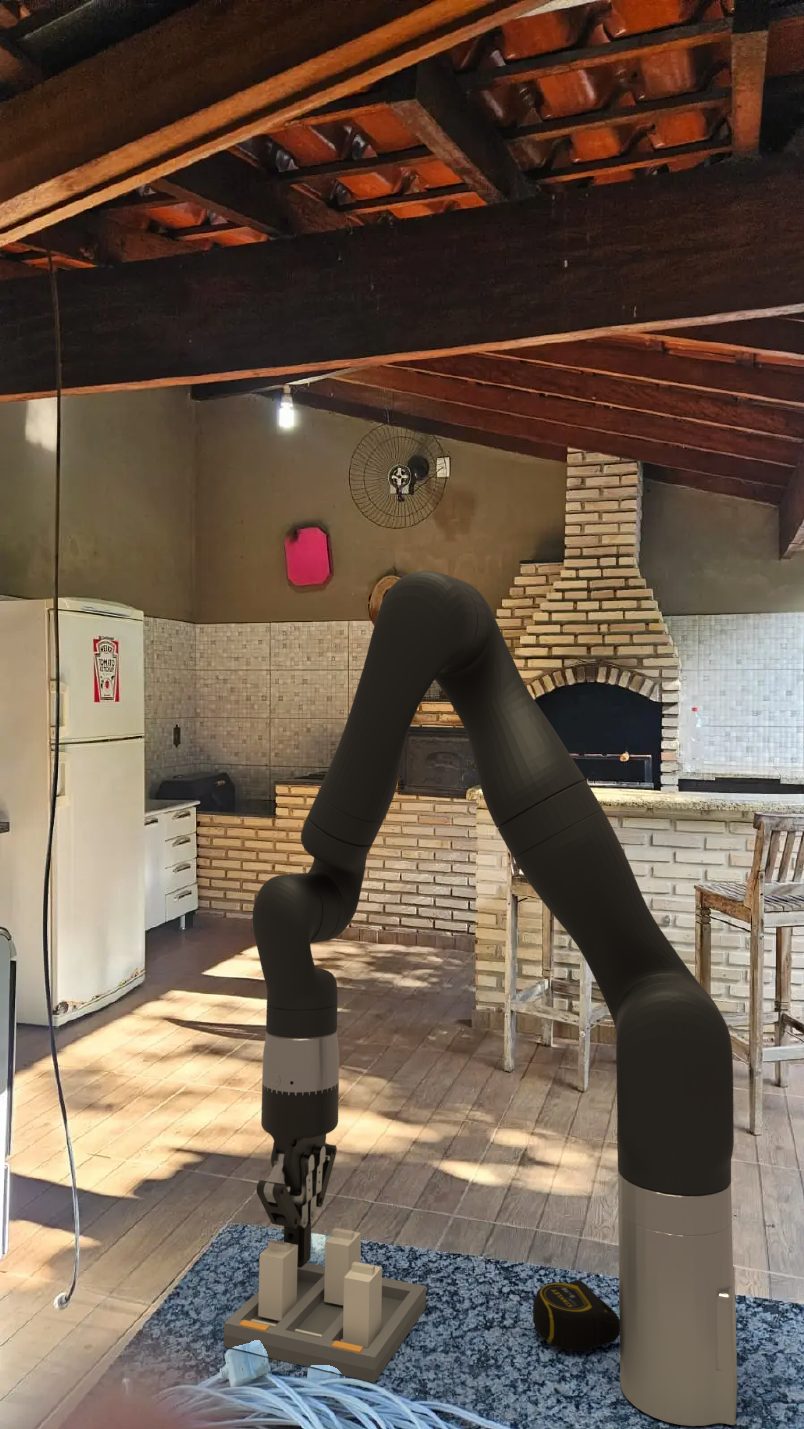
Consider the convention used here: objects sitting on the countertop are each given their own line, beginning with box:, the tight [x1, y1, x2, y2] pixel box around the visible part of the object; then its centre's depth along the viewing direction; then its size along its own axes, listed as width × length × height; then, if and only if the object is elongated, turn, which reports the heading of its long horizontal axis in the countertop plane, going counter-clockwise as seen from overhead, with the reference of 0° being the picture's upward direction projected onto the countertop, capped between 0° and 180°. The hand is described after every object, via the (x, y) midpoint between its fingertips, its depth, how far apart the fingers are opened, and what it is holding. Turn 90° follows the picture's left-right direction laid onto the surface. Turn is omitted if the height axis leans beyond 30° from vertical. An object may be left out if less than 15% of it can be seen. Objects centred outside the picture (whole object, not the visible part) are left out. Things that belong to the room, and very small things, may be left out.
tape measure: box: [532, 1279, 620, 1352], centre depth 87 cm, size 7×7×4 cm
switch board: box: [223, 1262, 427, 1384], centre depth 88 cm, size 14×13×2 cm
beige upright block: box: [324, 1227, 362, 1306], centre depth 92 cm, size 2×3×6 cm
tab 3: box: [258, 1239, 298, 1321], centre depth 89 cm, size 2×3×6 cm
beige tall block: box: [343, 1262, 383, 1348], centre depth 85 cm, size 2×3×6 cm
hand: (297, 1262), depth 92 cm, fingers closed
